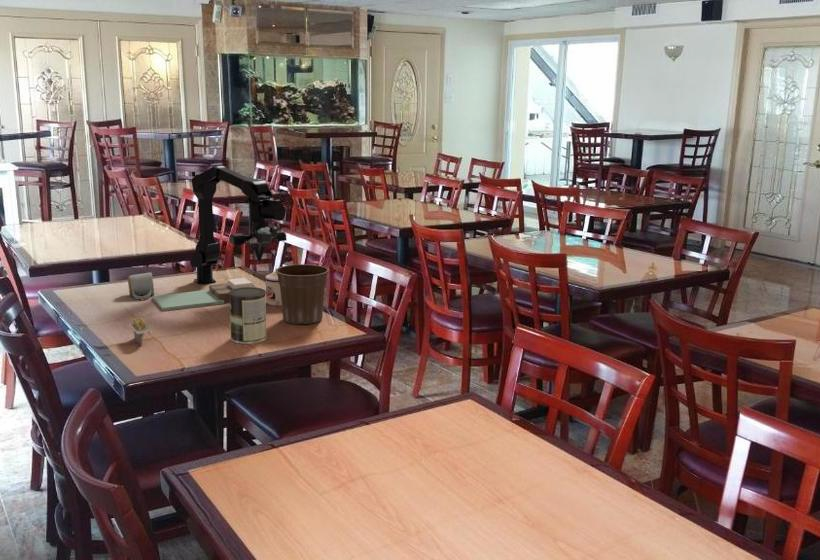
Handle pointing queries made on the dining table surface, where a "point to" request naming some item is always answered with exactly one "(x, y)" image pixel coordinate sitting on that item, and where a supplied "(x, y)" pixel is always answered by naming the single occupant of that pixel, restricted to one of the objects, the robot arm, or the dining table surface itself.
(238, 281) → the ivory tile
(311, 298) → the plant pot
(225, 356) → the dining table surface
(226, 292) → the walnut deck
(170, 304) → the sage mat
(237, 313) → the coffee can
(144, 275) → the ceramic mug
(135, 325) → the yellow flower bouquet
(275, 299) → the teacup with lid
